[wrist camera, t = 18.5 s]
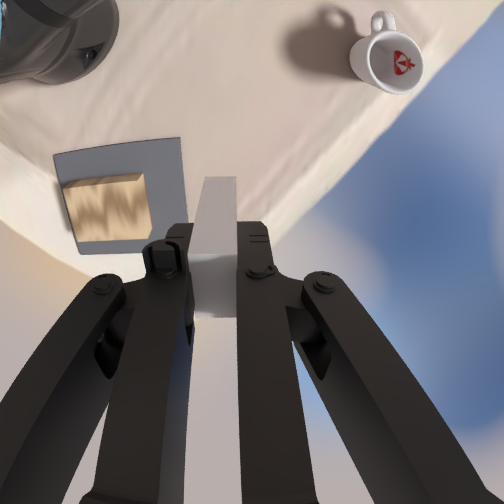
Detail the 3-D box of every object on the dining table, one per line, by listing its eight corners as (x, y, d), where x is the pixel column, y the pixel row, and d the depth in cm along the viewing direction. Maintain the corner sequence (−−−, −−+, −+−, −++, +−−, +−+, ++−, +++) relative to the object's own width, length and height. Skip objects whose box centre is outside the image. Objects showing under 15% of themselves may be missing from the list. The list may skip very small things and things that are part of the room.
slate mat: (55, 154, 37) (53, 155, 37) (180, 137, 38) (179, 138, 38) (81, 253, 47) (80, 254, 47) (191, 249, 48) (191, 251, 48)
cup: (338, 12, 29) (361, 2, 22) (392, 19, 29) (423, 15, 22) (342, 86, 35) (366, 92, 28) (394, 89, 35) (424, 98, 28)
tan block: (143, 172, 40) (71, 181, 40) (137, 180, 38) (62, 189, 37) (152, 228, 45) (84, 231, 45) (147, 238, 43) (77, 241, 42)
